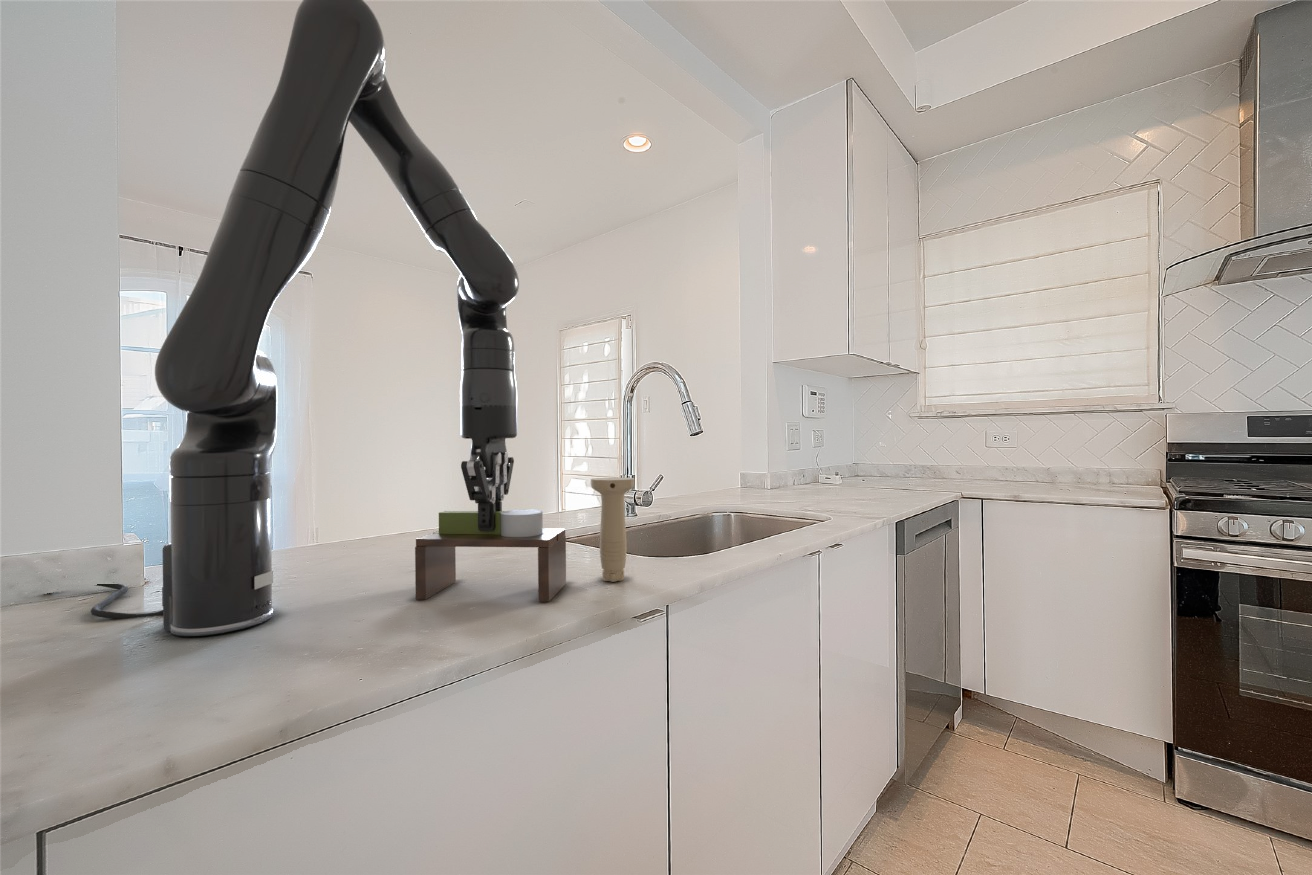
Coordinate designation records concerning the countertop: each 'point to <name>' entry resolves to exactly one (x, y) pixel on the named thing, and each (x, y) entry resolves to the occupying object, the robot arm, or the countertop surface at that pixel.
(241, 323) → the robot arm
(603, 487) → the handle
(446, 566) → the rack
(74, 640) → the countertop surface
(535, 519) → the green handled white cylinder
